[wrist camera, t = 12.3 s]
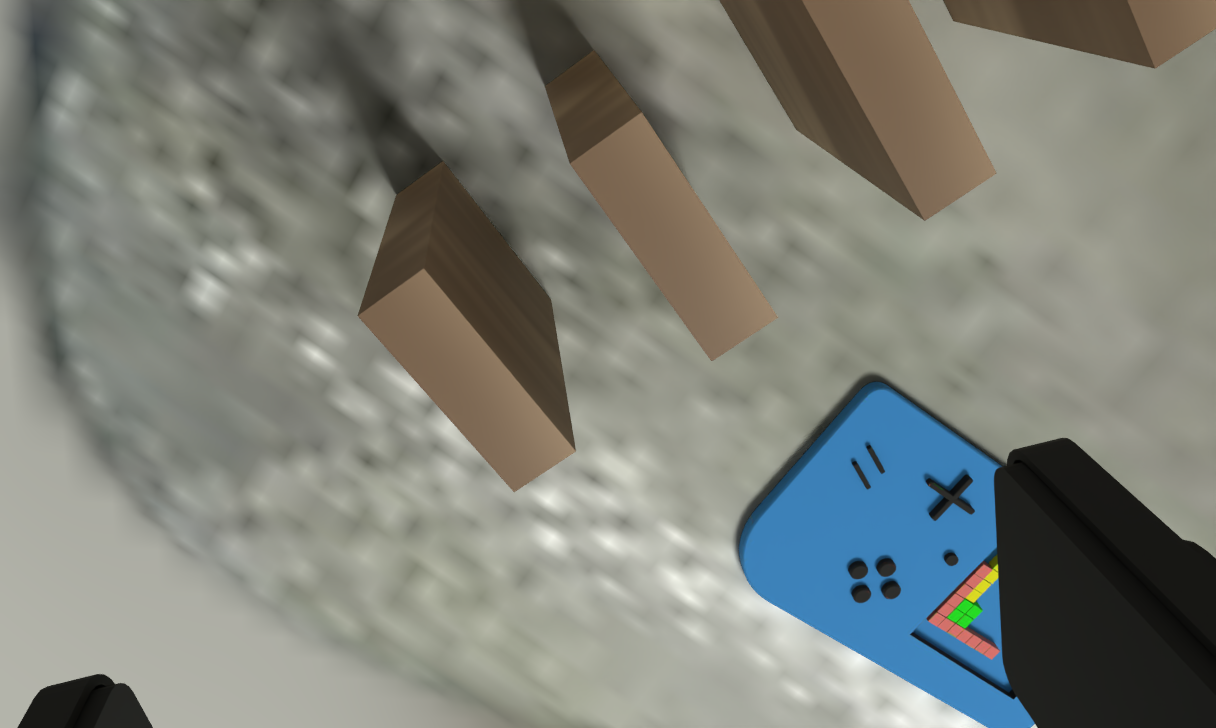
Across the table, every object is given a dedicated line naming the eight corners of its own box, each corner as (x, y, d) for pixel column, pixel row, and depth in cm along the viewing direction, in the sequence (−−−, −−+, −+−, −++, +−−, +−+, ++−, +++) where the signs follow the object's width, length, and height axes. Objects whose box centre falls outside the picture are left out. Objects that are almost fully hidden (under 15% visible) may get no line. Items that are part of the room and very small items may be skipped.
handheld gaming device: (881, 385, 31) (1182, 596, 35) (868, 370, 32) (1163, 577, 36) (714, 575, 33) (1018, 749, 38) (707, 555, 34) (1004, 727, 39)
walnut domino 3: (754, -68, 26) (879, -58, 17) (845, 95, 28) (996, 172, 19) (701, -30, 26) (800, -2, 18) (796, 129, 28) (924, 220, 20)
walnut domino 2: (594, 50, 26) (642, 112, 18) (694, 200, 28) (777, 317, 20) (544, 86, 27) (569, 163, 18) (647, 232, 28) (711, 361, 20)
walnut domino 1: (443, 161, 27) (423, 268, 19) (550, 299, 29) (575, 451, 21) (396, 195, 27) (357, 315, 19) (506, 330, 29) (513, 492, 21)
